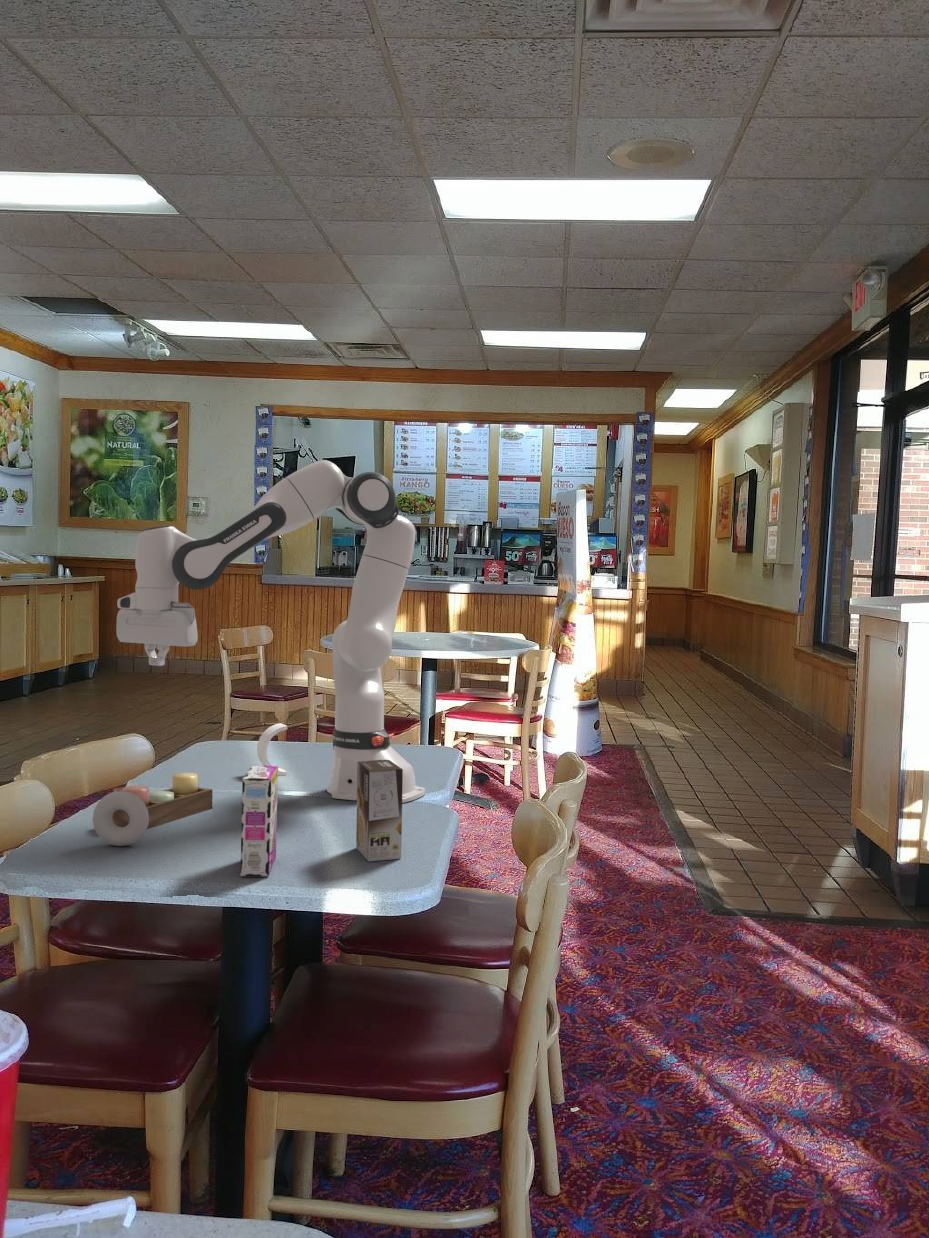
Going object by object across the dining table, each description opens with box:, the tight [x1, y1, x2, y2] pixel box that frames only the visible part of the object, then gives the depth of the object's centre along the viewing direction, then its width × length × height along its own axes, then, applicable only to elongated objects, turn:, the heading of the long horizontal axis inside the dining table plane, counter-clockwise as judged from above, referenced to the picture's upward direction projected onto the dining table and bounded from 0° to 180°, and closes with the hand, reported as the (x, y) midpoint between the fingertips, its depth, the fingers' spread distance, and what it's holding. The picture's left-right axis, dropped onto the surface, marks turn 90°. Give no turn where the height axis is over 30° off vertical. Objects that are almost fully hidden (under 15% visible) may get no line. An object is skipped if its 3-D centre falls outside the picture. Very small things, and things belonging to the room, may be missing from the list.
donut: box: [92, 790, 149, 847], centre depth 173 cm, size 10×4×10 cm, turn 90°
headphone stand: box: [256, 723, 288, 777], centre depth 234 cm, size 5×6×12 cm
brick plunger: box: [121, 785, 150, 807], centre depth 187 cm, size 5×5×4 cm
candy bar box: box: [239, 765, 279, 878], centre depth 163 cm, size 11×5×16 cm, turn 5°
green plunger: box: [149, 790, 174, 802], centre depth 193 cm, size 5×5×4 cm
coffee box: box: [355, 760, 403, 862], centre depth 172 cm, size 9×6×16 cm
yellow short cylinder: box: [171, 772, 199, 795], centre depth 199 cm, size 5×5×4 cm
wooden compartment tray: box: [112, 786, 213, 830], centre depth 193 cm, size 8×21×4 cm, turn 153°
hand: (156, 665), depth 207 cm, fingers closed
